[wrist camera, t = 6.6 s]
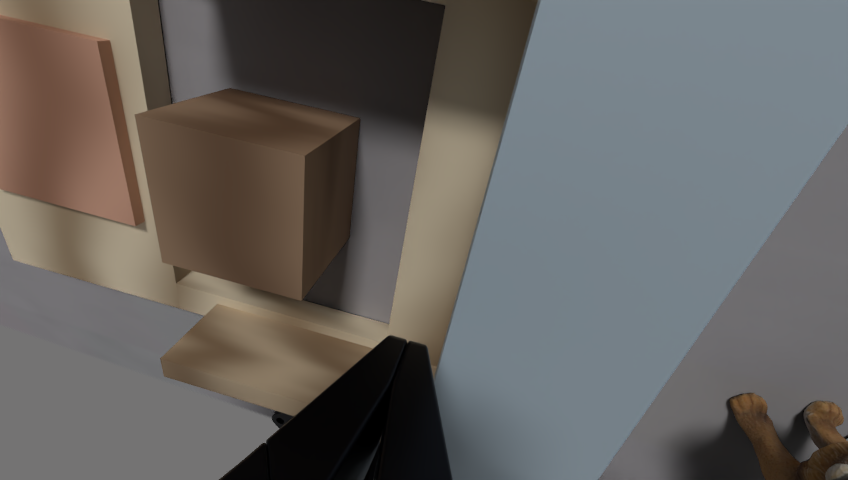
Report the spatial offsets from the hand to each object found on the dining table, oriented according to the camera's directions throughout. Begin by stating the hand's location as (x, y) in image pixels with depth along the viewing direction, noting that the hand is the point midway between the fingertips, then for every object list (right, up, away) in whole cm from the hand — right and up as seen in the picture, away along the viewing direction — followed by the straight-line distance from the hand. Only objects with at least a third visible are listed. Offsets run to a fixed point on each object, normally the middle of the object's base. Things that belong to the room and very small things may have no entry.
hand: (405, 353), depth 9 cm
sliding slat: (+4, 0, +2) cm, 4 cm away
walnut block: (-5, +5, +7) cm, 10 cm away
